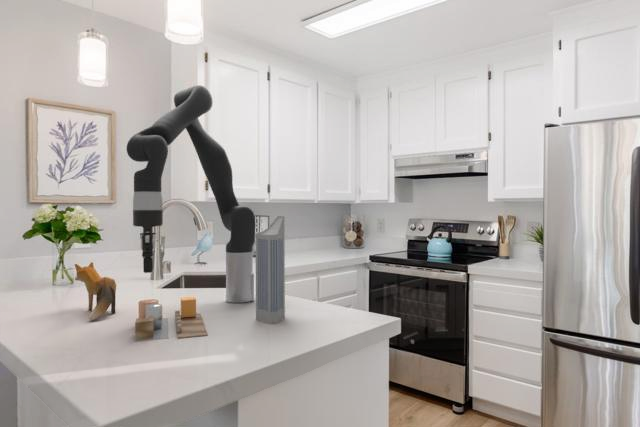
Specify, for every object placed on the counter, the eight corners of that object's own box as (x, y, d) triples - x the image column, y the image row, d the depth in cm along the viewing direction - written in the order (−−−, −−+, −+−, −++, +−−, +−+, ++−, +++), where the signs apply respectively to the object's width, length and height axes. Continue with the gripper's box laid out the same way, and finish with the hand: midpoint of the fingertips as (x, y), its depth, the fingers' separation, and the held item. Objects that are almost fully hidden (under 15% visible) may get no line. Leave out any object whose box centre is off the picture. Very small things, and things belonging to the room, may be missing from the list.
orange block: (180, 314, 126) (180, 297, 125) (195, 313, 127) (195, 296, 127) (181, 317, 122) (181, 300, 122) (196, 316, 123) (196, 299, 123)
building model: (289, 317, 128) (289, 216, 128) (275, 324, 121) (274, 216, 121) (265, 315, 132) (265, 216, 132) (250, 321, 124) (249, 216, 124)
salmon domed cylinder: (158, 320, 121) (158, 298, 121) (158, 324, 116) (158, 302, 116) (139, 321, 119) (139, 300, 119) (138, 326, 115) (138, 303, 115)
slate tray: (168, 322, 124) (167, 317, 124) (168, 343, 104) (168, 338, 104) (137, 324, 121) (137, 320, 121) (132, 346, 101) (132, 341, 101)
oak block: (153, 333, 109) (153, 317, 109) (153, 337, 105) (153, 320, 105) (136, 334, 107) (136, 318, 107) (135, 339, 103) (135, 322, 103)
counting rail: (174, 320, 125) (174, 309, 125) (200, 318, 128) (200, 307, 128) (177, 343, 104) (177, 329, 104) (207, 340, 106) (207, 327, 106)
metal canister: (162, 325, 115) (162, 303, 115) (162, 329, 112) (162, 306, 112) (146, 327, 114) (145, 304, 114) (145, 331, 110) (145, 307, 110)
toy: (99, 304, 147) (99, 260, 147) (130, 320, 126) (129, 268, 126) (63, 309, 140) (62, 263, 140) (89, 327, 119) (88, 272, 119)
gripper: (162, 208, 113) (162, 274, 113) (162, 208, 127) (162, 267, 127) (131, 208, 111) (131, 275, 111) (134, 208, 124) (135, 268, 124)
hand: (148, 270), depth 119 cm, fingers open, 4 cm apart
